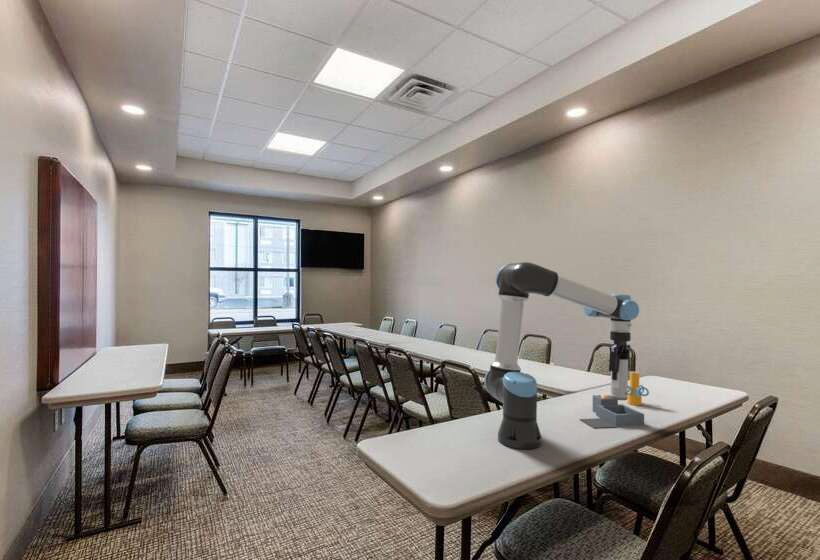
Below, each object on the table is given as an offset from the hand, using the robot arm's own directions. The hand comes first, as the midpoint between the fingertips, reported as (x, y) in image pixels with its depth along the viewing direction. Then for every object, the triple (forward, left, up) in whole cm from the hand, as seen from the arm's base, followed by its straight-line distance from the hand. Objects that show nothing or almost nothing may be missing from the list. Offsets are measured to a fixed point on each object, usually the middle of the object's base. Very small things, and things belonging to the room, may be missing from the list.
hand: (619, 386), depth 166 cm
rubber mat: (-11, -2, -14) cm, 18 cm away
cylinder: (+23, +22, -14) cm, 35 cm away
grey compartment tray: (0, +4, -14) cm, 15 cm away
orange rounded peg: (0, +10, -14) cm, 17 cm away
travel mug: (0, 0, -5) cm, 5 cm away
